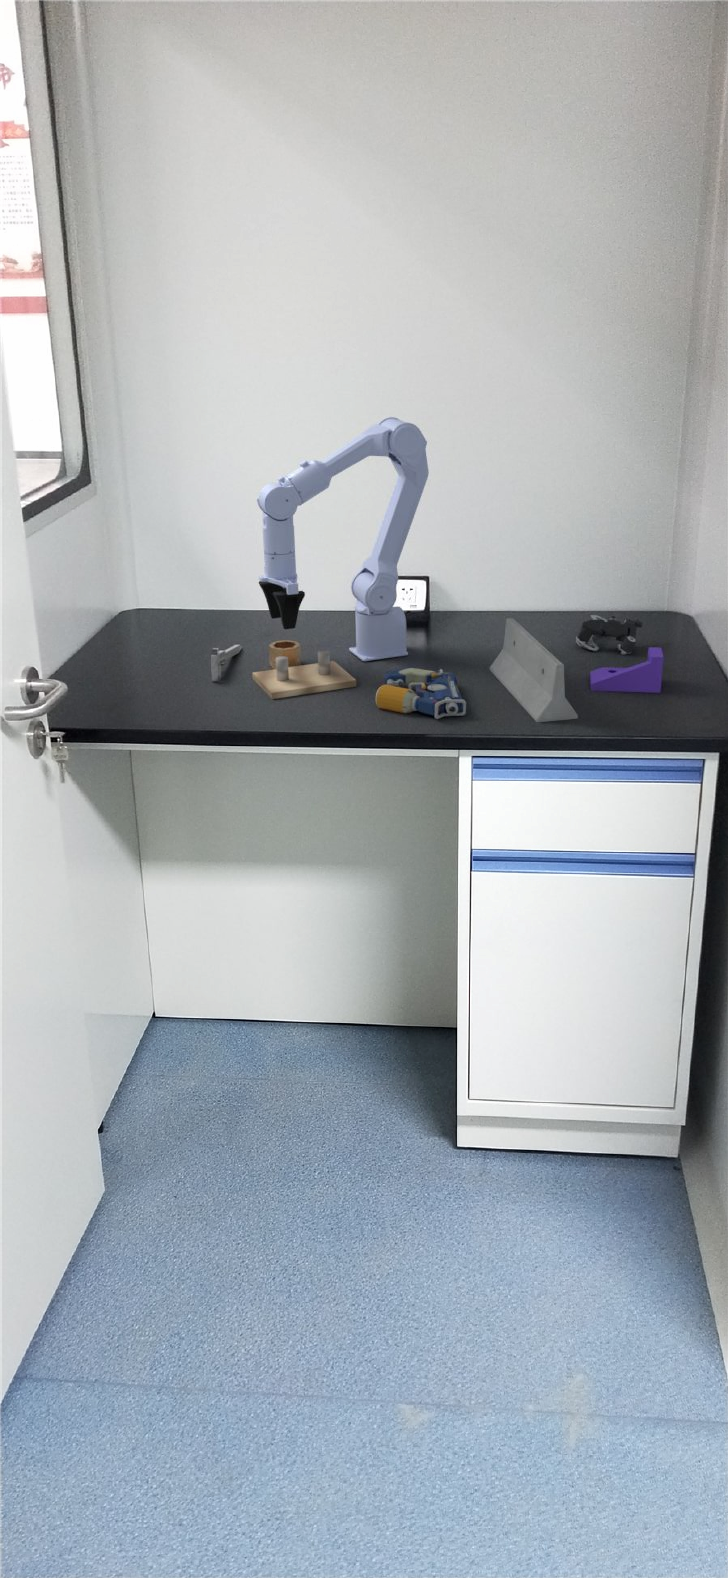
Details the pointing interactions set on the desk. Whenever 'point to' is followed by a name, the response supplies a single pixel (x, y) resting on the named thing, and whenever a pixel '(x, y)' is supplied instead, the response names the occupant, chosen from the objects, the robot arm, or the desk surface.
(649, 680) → the bracket
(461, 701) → the toy blaster gun
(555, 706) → the barrier
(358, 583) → the robot arm
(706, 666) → the desk surface
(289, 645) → the ring
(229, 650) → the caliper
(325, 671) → the wooden peg board
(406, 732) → the desk surface
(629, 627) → the bicycle component
